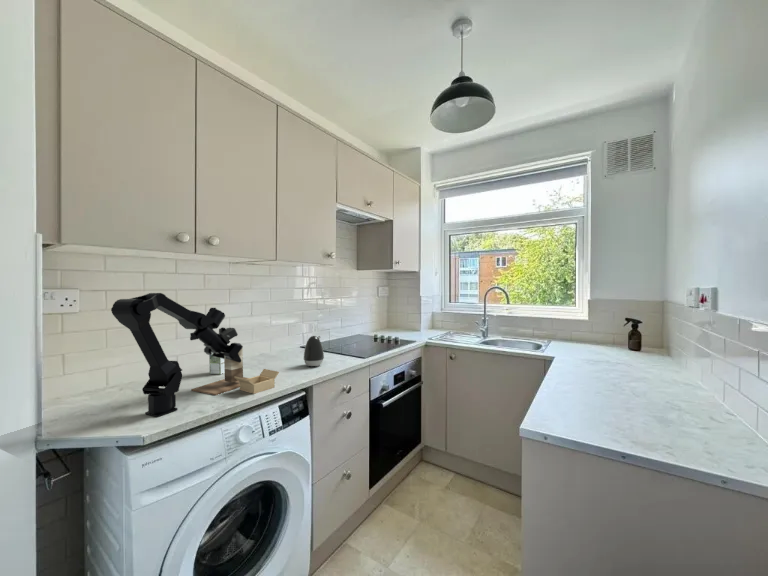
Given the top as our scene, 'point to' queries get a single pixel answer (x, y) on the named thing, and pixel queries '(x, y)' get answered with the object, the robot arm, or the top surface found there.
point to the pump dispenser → (313, 352)
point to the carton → (258, 382)
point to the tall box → (233, 368)
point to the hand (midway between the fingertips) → (236, 360)
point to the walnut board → (218, 387)
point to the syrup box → (216, 365)
